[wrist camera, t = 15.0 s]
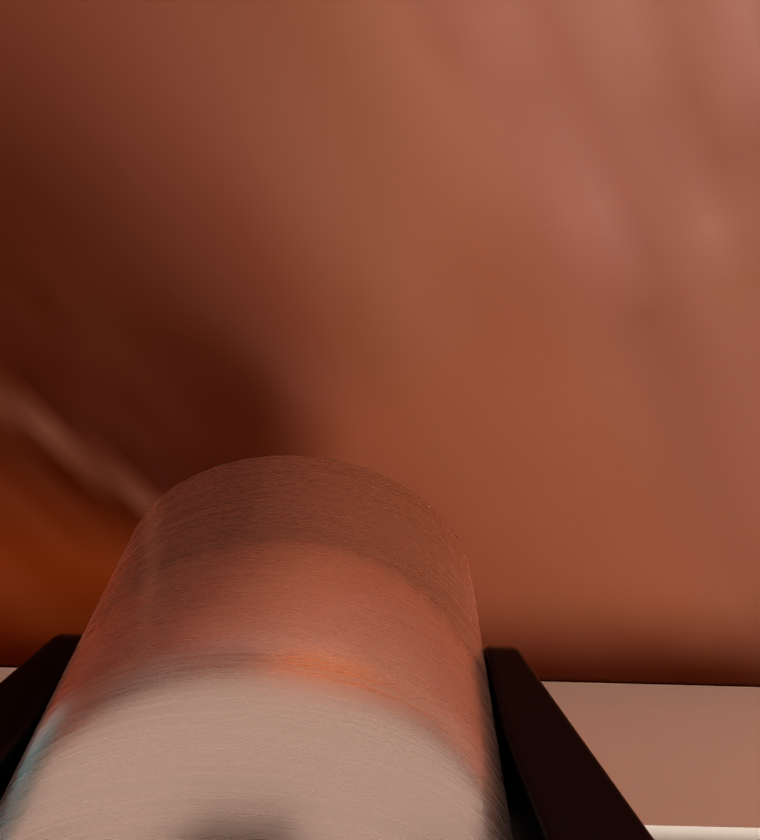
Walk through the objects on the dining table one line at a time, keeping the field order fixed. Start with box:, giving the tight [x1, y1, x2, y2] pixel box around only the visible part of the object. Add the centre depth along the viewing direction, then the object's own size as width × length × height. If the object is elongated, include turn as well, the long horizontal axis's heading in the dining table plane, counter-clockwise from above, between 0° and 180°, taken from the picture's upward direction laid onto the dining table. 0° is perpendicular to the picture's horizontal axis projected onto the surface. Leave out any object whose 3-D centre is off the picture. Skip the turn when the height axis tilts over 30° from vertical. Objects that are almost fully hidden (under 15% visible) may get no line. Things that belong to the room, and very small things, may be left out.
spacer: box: [0, 455, 513, 840], centre depth 7 cm, size 5×5×5 cm
